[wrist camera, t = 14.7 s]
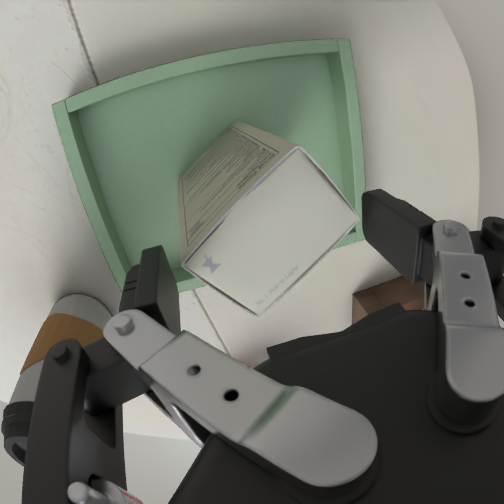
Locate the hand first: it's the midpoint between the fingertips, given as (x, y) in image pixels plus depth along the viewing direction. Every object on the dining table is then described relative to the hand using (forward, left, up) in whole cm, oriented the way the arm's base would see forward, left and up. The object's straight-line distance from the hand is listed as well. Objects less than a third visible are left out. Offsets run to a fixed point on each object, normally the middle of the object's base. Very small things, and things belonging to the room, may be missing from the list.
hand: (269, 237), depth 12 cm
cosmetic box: (0, 0, -12) cm, 12 cm away
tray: (0, 0, -13) cm, 13 cm away
